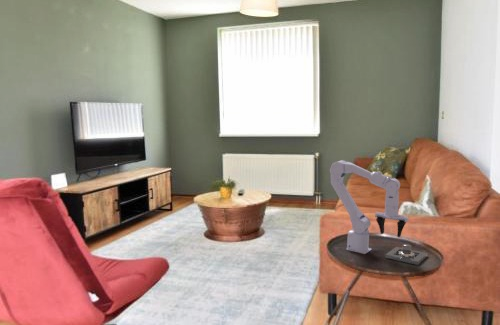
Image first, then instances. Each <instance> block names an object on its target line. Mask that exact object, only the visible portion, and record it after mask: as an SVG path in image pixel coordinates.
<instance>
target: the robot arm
mask: <svg viewBox="0 0 500 325" xmlns="http://www.w3.org/2000/svg"><path fill="white" fill-rule="evenodd" d="M352 173H353V174H355V175H358V176H360V177H363V178H365V179H368V181H369V183H370V184H372V185H375V186H377V187H379V188H381V189H384V190H385V198H384V200H385V201H384V212H378V211H377V212H375V213H374V217H375V218H376V222H377V224H378V228H379V230H380V231H379V232H380V235H383V234H384V233H385V222H386V219H387V220H393V221H397V223H396V224H397V237H398V238H400V237H401V235H402V231H403V229H404V228H405V225H406V224H407V223H408V222H409V216H405V215H400V214H399V205H400V203H399V202H400V192H399V191H400V187H401V182H400V180H398V179H397V178H395V177H391V175H388V176H387V175H385V174H382V172H381V171H373V172H371V171H369V170H367V169H365V168H363V167H360V166H359V165H356V164H354V163H353V162H350V161H346V160H345V159H341V160H339V161H334V162H333V163H332V164H331V166H330V168H329V174H330V185H331V186H332V188H333V189H334V191H335V194H336V195H337V196H338V198H339V200H340V201H341V203H342V205H343V207H344V209H345V210H346V211H347V213H348V215H349V218H350V219H349V222H350V223H351V226H352V229H350V230H349V231H348V233H347V238H346V239H347V242H346V250H347V251H350V252H355V253H359V254H362V255H363V254H364V255H365V254H367V253H369V252H371V251H372V248H371V247H369V246H370V245H369V244H370V243H369V242H370V230H369V228H370V227H371V221H370V220H371V219H370V218H368V217H367V216H366V215H365V213H364V212H363V211H362V210H360V207H358V205H357V203H356V202H355V200H354V198H353V197H352V194H350V192H349V190H348V189H347V187H346V185H345V183H344V179H345V175H346V174H352Z"/></svg>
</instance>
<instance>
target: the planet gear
mask: <svg viewBox="0 0 500 325" xmlns="http://www.w3.org/2000/svg"><path fill="white" fill-rule="evenodd" d="M401 248H402V251H399V252H398V254H397V255H398V256H403V257H408V258H412V259H414V258H415V257H416V256H415V253H412V252H411V250H412V245H411V244H408V243H403V244H402V247H401Z"/></svg>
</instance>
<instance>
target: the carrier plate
mask: <svg viewBox="0 0 500 325" xmlns="http://www.w3.org/2000/svg"><path fill="white" fill-rule="evenodd" d="M399 251H402V247H399V246H395V247H394V248H392V249H391V250H390V251H388V252H386V254H385V257H384V258H385V259H390V260H393V261H398V262H403V263H406V264H410V265H411V264H412V265H416V266H418V265H420V264H421V263H422V262H423V261H424V260H425V259H426V258H427V257H428V252H423V251H418V250H413V249H411V252H412V253H415V258H414V259H412V258H408V257H403V256H398V252H399Z"/></svg>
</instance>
